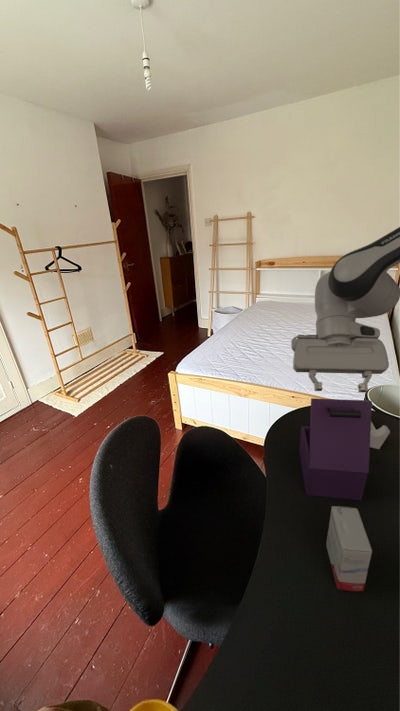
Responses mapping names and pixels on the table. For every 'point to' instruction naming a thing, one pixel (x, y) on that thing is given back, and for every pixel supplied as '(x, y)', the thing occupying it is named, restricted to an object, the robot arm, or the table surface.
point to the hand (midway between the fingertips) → (340, 391)
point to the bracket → (378, 436)
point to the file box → (328, 476)
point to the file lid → (340, 434)
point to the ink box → (348, 548)
